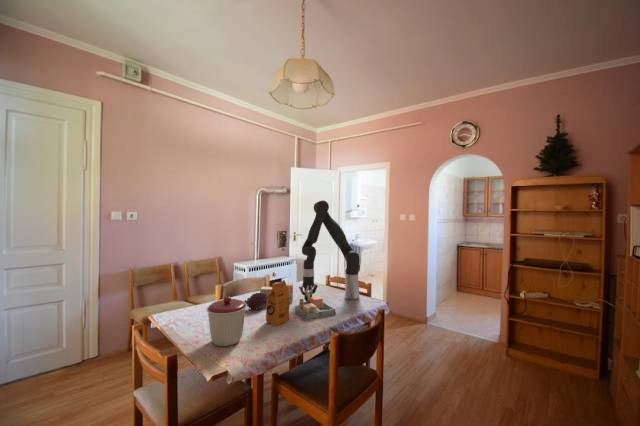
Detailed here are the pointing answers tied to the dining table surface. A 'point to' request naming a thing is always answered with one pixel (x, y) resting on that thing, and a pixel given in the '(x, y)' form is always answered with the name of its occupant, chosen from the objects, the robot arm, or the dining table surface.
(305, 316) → the shelf rack
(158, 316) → the dining table surface
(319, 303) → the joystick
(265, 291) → the stack of blocks
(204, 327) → the dining table surface
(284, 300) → the coffee package
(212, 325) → the canister
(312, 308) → the birch block
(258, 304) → the pine cone
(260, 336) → the dining table surface
